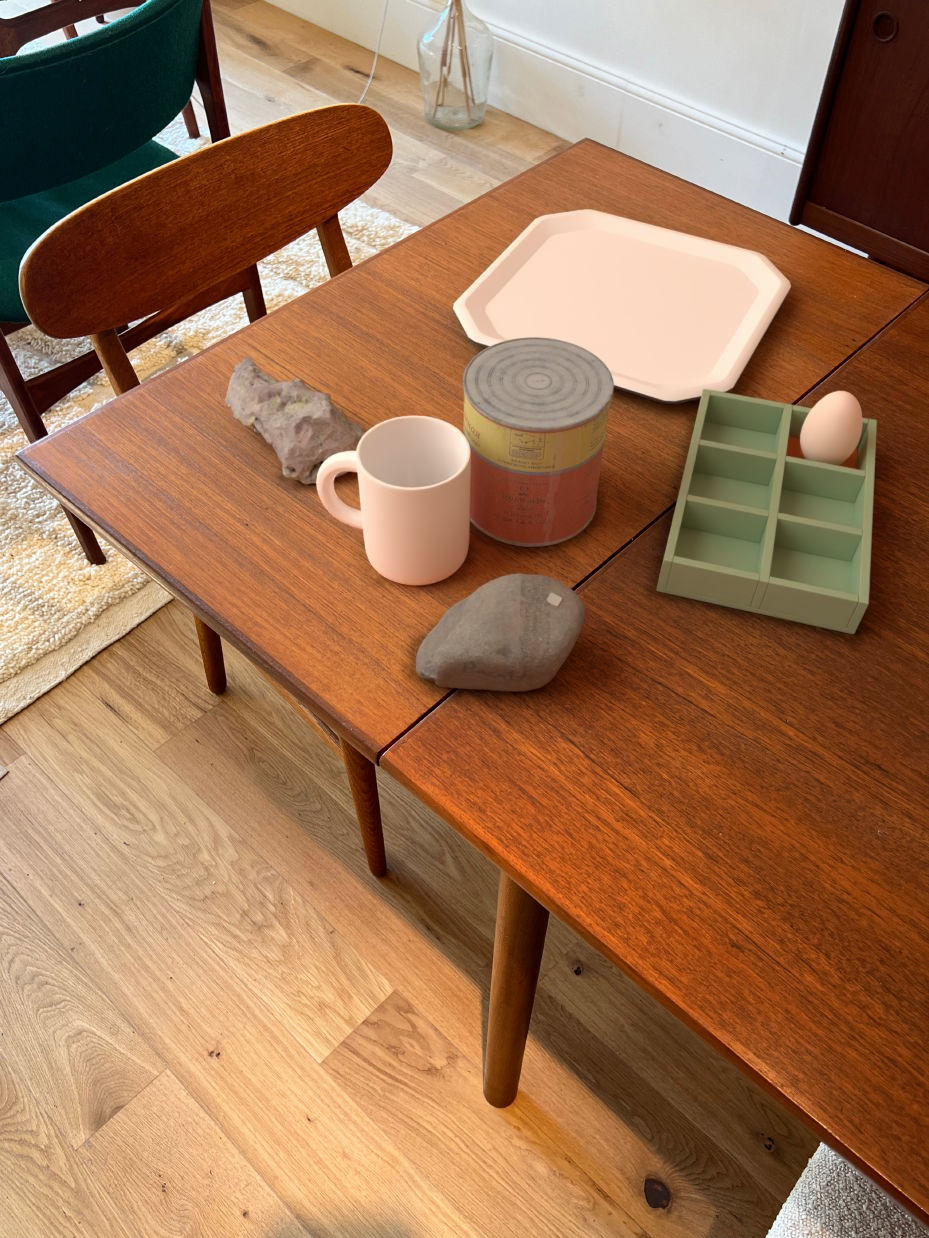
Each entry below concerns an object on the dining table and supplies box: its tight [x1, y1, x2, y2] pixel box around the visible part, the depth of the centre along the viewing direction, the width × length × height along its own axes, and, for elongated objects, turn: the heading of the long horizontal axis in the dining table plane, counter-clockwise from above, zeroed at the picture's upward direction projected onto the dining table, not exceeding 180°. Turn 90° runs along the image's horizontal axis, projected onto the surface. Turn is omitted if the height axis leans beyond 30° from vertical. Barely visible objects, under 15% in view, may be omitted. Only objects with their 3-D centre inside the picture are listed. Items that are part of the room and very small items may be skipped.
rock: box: [224, 355, 367, 485], centre depth 85 cm, size 16×7×7 cm, turn 49°
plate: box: [452, 208, 792, 405], centre depth 101 cm, size 29×29×2 cm
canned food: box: [462, 337, 615, 548], centre depth 79 cm, size 11×11×12 cm
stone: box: [415, 572, 586, 692], centre depth 70 cm, size 9×9×10 cm
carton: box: [655, 389, 878, 635], centre depth 81 cm, size 15×22×4 cm
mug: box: [315, 415, 471, 586], centre depth 76 cm, size 12×8×10 cm
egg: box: [800, 390, 863, 466], centre depth 83 cm, size 5×5×7 cm
